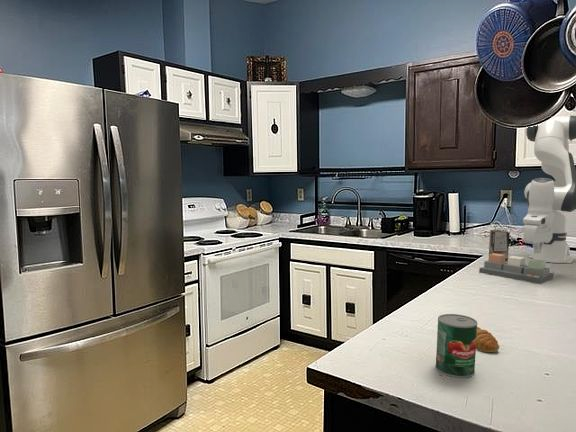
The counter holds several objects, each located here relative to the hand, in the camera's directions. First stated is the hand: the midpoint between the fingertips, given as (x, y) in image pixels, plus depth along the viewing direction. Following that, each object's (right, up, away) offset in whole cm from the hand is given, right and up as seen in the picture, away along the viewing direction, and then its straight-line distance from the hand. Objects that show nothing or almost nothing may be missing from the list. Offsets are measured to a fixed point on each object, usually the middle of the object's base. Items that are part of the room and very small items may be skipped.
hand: (537, 252), depth 173 cm
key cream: (-5, -6, +7) cm, 10 cm away
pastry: (-53, -17, -66) cm, 87 cm away
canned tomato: (-64, -18, -80) cm, 104 cm away
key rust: (-10, -5, +13) cm, 17 cm away
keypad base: (-5, -10, +7) cm, 13 cm away
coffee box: (-2, -8, +28) cm, 29 cm away
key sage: (0, -7, +1) cm, 7 cm away
